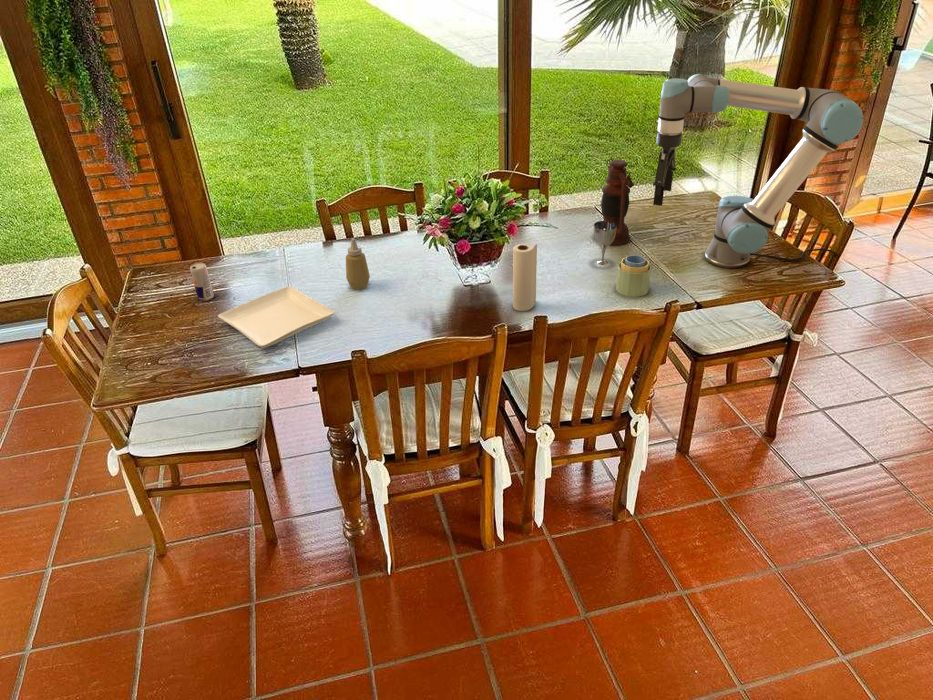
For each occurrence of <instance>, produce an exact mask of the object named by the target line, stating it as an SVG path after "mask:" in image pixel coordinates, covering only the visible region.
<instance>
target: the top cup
mask: <svg viewBox="0 0 933 700" xmlns="http://www.w3.org/2000/svg"><path fill="white" fill-rule="evenodd" d="M625 257H626V259H625V265H626V266H629V267H635V268H639V267H644V266H645V260H646V259H647V258H646V257H644V256H642V255H640V254H639V255H638V254H630V255H627V256H625Z"/></svg>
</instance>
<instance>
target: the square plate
mask: <svg viewBox="0 0 933 700" xmlns="http://www.w3.org/2000/svg"><path fill="white" fill-rule="evenodd" d="M333 315H335V311H334V310H332V309H330V308H329V307H327V306H326V305H324V304H322V303H321V302H319V301H317V300H315V299H314V298H311V297H310V296H308V295H306V294H305V293H303V292H301V291H300V290H299V289H296V288H294V287H292V286H290V285H288V286H285V287H282V288H279V289H277V290H274V291H272V292H268V293H266V294H264V295H261V296H259V297H256V298H253V299H252V300H249V301H247V302H244V303H241V304H239V305H237V306H235V307H232V308H230V309H227V310H226V311H223V312H221V313H219V314H217V317H218V318H219V319H220V320H222V321H223V322H225V323H226V324H227V325H229V326H231V327H232V328H234V329H235V330H236V331H238V332H239V333H241V334H242V335H243V336H245V337H246V338H247V339H249V340H250V341H251V342H252V343H253V344H255V345H256V346H258V347H259V348H261V349H266V348H270V347H271V346H273V345H275V344H278V343H280V342H282V341H284V340H286V339H288V338H290V337H292V336H295V335H296V334H300V333H301V332H303V331H305V330H308V329H310V328H312V327H315V326H316V325H319V324H321V323H324V322H325V321H326V320H329V319H330V318H332V316H333Z"/></svg>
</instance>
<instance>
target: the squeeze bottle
mask: <svg viewBox="0 0 933 700" xmlns="http://www.w3.org/2000/svg"><path fill="white" fill-rule="evenodd" d="M345 272H346V273H345V274H346V275H345V277H346V280H347V283H348V284H349V286H350V288H351V289H352V290H355V291H360V290H364V289H366V288H368V286H369V281H370V277H371V275H370V271H369V267H368V262H367V258H366V254H365V253H364V252H363V250H362V247H361V246H359V245H358V244H357V241H356V238H355V237H353V238H351V240H350V247H348V248H347V254H346V256H345Z"/></svg>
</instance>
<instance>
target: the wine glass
mask: <svg viewBox="0 0 933 700" xmlns="http://www.w3.org/2000/svg"><path fill="white" fill-rule="evenodd" d="M616 231H617V224H616V223H614V222H611V221H604V220H598V221H596V222H594V224H593V239H594V238H595V239H594V241H595V242H596V245H598V246H599V247H600V249H601V259H600V260H598V261H597V262H596V263H597V265H600V266H606V265H608V264H609V262H608V261H607V260H605V255H606V254H605V253H606V250H607V248H609V245H610V244H611V243H612V242H613V241H614V239H615V236H616Z"/></svg>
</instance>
